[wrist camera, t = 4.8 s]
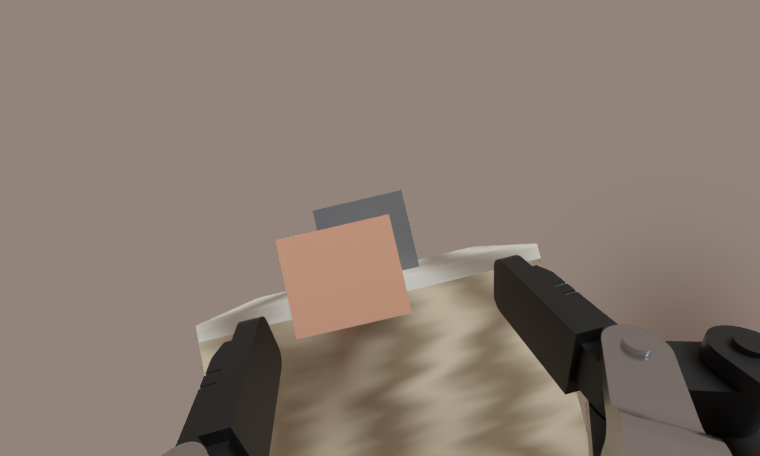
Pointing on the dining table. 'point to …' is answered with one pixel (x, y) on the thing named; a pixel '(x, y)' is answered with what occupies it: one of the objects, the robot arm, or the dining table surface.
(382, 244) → the salmon and grey blocks
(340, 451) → the beige zigzag box
